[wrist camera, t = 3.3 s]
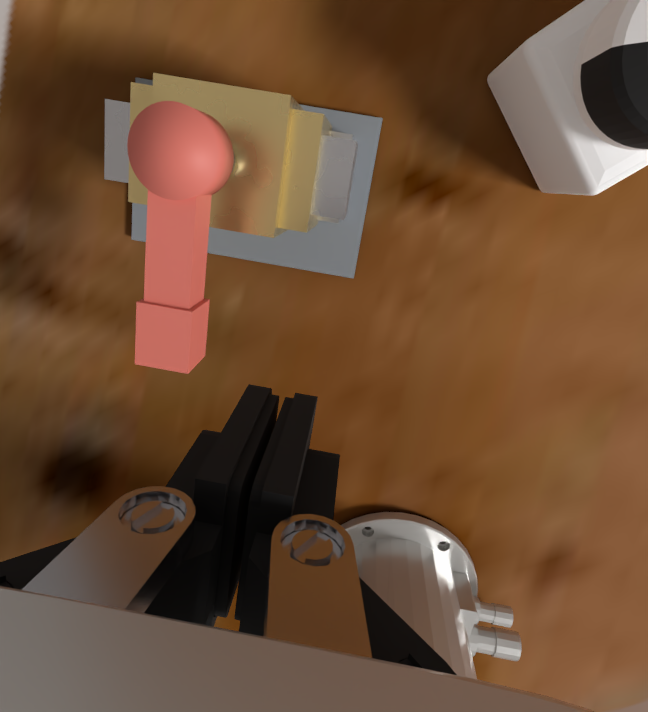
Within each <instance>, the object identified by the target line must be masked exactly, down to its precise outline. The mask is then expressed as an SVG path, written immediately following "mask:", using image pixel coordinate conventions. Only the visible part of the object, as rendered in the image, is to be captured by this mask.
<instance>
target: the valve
mask: <svg viewBox="0 0 648 712" xmlns="http://www.w3.org/2000/svg"><path fill="white" fill-rule="evenodd" d="M161 101H175V102H179V103H182V104H185V105H187V106H190V107H192V108H195V109H197V110H199V111H202V112H204V113H206V114H208V115H210V116H212V117H213V118H214V119H216V120H217V121H218V122H219V123H220V124H221V125H222V126H223V128H224V129H225V130H226V132H227V134H228V136H229V138H230V140H231V143H232V147H233V154H234V163H233V169H232V172H231V175H230V177H229V179H228V181H227V183H226V184H225V185H224V186H223V187H222V188H221V189H220V190H219V191H218V192H216V193H215V194H213V195H212V197H211V210H210V223H209V227H212V228H218V229H224V230H230V231H235V232H241V233H247V234H253V235H258V236H264V237H270V238H275V237H277V236H278V235H280V234H282V233H284V232H285V231H287V230H294V231H300V232H306V233H307V232H308V231H310V230H311V229H312V228H313V227H315V226H316V225H317V224H318V220H320V221H326V222H331V223H337V224H338V223H339V222H340V220H344V219H345V217H346V216H347V211H348V205H349V199H350V193H351V188H352V182H353V176H354V170H355V164H356V158H357V152H358V143H357V141H356V140H353V139H354V137H353V135H352V134H346V133H340V132H334V131H332V125H331V124H330V122H329V121H328V119H327V118H326V116H325V115H324V114H322V113H316V112H309V111H305V110H304V109H303V108H302V107H301V106H300V105H299V104H298V103H297V101H296V100H295V99H294V98H293V97H292V96H291V95H285V94H279V93H273V92H267V91H261V90H255V89H249V88H243V87H237V86H231V85H225V84H219V83H213V82H207V81H200V80H194V79H188V78H182V77H176V76H170V75H164V74H158V73H153V86H152V85H146V84H140V83H134V82H131V92H130V103H128V102H122V101H116V100H110V99H105V166H104V179H107V180H113V181H119V182H124V183H128V202H132V203H138V204H144V205H147V200H148V189H147V188H146V187H145V186H144V185H143V184H142V183H141V182H140V181H139V179H138V178H137V176H136V175H135V173H134V171H133V169H132V167H131V164H130V161H129V157H128V148H127V143H128V135H129V131H130V128H131V125H132V123H133V121H134V120H135V118H136V117H137V115H138V114H139V113H140V112H141V111H142V110H144V109H145V108H146V107H148V106H149V105H151V104H154V103H156V102H161Z"/></svg>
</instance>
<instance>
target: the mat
mask: <svg viewBox="0 0 648 712" xmlns="http://www.w3.org/2000/svg"><path fill="white" fill-rule="evenodd" d="M135 83H140V84H146V85H152V86H153V80H148V79H142V78H136V79H135ZM299 105H300V104H299ZM300 106H301V107H302V108H303V109H304V110H305V111H309V112H316V113H322V114H324V115H325V116H326V118H327V119H328V121H329V122H330V124H331V125H332V131H334V132H340V133H346V134H352V135H353V137H354V139H353V140H356V141H357V143H358V152H357V158H356V164H355V170H354V176H353V182H352V188H351V193H350V199H349V205H348V211H347V216H346V217H345V219H344V220H340V222H339V223H338V224H337V223H331V222H326V221H320V220H318V224H317V225H316V226H315V227H313V228H312V229H311V230H310V231H308V232H307V233H306V232H300V231H294V230H287V231H285V232H284V233H282V234H280V235H278V236H277V237H275V238H270V237H264V236H258V235H253V234H247V233H241V232H235V231H230V230H224V229H218V228H212V227H209V236H208V249H207V253H211V254H217V255H223V256H228V257H234V258H240V259H246V260H251V261H257V262H263V263H268V264H274V265H280V266H286V267H291V268H297V269H303V270H308V271H314V272H320V273H325V274H331V275H337V276H343V277H348V278H354V274H355V268H356V263H357V257H358V252H359V246H360V241H361V235H362V230H363V224H364V219H365V213H366V207H367V202H368V196H369V191H370V185H371V180H372V174H373V169H374V163H375V158H376V152H377V147H378V141H379V136H380V130H381V125H382V119H383V118H378V117H372V116H366V115H360V114H354V113H348V112H342V111H336V110H330V109H324V108H318V107H312V106H306V105H300ZM146 228H147V205H144V204H138V203H132V238H131V240H137V241H143V242H146Z"/></svg>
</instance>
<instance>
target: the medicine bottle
mask: <svg viewBox="0 0 648 712" xmlns="http://www.w3.org/2000/svg"><path fill="white" fill-rule="evenodd" d="M487 82H488V85H489V87H490V89H491V91H492V93H493V95H494V97H495V99H496V101H497V103H498V105H499V107H500V109H501V111H502V113H503V116H504V118H505V120H506V122H507V124H508V126H509V128H510V130H511V132H512V134H513V136H514V138H515V140H516V142H517V144H518V146H519V148H520V150H521V152H522V154H523V157H524V159H525V161H526V163H527V165H528V167H529V169H530V171H531V173H532V175H533V177H534V179H535V181H536V183H537V185H538V187H539V189H540V190H541V192H544V193H558V194H577V195H596V194H598V193H600V192H602V191H604V190H605V189H607V188H609V187H611V186H612V185H614V184H616V183H617V182H619V181H621V180H623V179H624V178H626V177H628V176H630V175H631V174H633V173H635V172H637V171H638V170H640V169H642V168H643V167H645V166H647V165H648V0H584V1H583V2H581V3H580V4H578V5H577V6H576V7H574V8H573V9H571V10H570V11H568V12H567V13H565V14H564V15H562V16H561V17H559V18H558V19H556V20H555V21H554V22H552V23H551V24H549V25H548V26H546V27H545V28H543V29H542V30H540V31H539V32H537V33H536V34H534V35H533V36H532V37H530V38H529V39H527V40H526V41H525V42H524V43H523V44H522V45H520V46H519V47H518V48H517V49H516V50H515V51H514V52H513V53H512V54H511V55H510V56H508V57H507V58H506V59H505V60H504V61H503V62H502V63H501V64H500V65H499V66H498V67H496V68H495V69H494V70H493V71H492V72H491V73H490V74H489V75H488V78H487Z"/></svg>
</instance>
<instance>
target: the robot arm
mask: <svg viewBox="0 0 648 712" xmlns="http://www.w3.org/2000/svg"><path fill="white" fill-rule="evenodd" d="M278 403H279V396H277V395H272V389H271V388H266V387H260V386H255V385H248V387H247V388H246V390H245V392H244V394H243V395H242V397H241V399H240V401H239V402H238V404H237V406H236V408H235V409H234V411H233V413H232V415H231V416H230V418H229V420H228V422H227V423H226V425H225V427H224V428H223V430H222V432H221V433H219V432H214V431H208V430H203V431H202V432H201V433H200V435H199V436H198V438H197V439H196V441H195V443H194V444H193V446H192V447H191V449H190V450H189V452H188V453H187V455H186V456H185V458H184V459H183V461H182V462H181V464H180V466H179V467H178V469H177V470H176V472H175V473H174V475H173V476H172V478H171V479H170V481H169V482H168V484H167V485H166V487H164V486H149V487H144V488H139V489H136V490H133V491H131V492H128V493H126V494H124V495H123V496H122V497H120V498H119V499H117V500H116V501H115V502H114V503H113V504H112V505H111V506H110V507H109V508H108V509H107V510H106V511H104V512H103V513H102V514H101V515H100V516H99V517H98V518H97V519H96V520H95V521H94V522H93V523H92V524H91V525H90V526H88V527H87V528H86V529H85V530H84V531H83V532H82V533H81V534H80V535H79V536H78V537H76V538H73V539H70V540H67V541H64V542H61V543H58V544H55V545H52V546H49V547H46V548H43V549H40V550H37V551H33V552H30V553H27V554H24V555H21V556H18V557H15V558H12V559H9V560H6V561H3V562H0V712H594V711H591V710H589V709H586V708H583V707H580V706H576V705H573V704H570V703H567V702H564V701H561V700H558V699H554V698H551V697H548V696H544V695H540V694H536V693H532V692H527V691H523V690H519V689H515V688H510V687H506V686H502V685H498V684H493V683H489V682H485V681H481V680H477V677H476V673H475V668H474V663H473V659H472V657H473V656H474V655H475V653H476V652H480V653H485V654H490V655H491V656H492V657H496V658H502V659H507V660H512V661H518V660H519V658H520V656H521V639H520V635H519V634H518V632H516V631H512V630H506V629H501V628H496V627H491V628H488V627H483V626H478V625H477V623H478V622H479V621H484V622H490V623H491V624H495V625H500V626H505V627H511V626H512V623H513V611H512V608H511V607H510V606H505V605H500V604H495V603H491V604H490V603H485V602H480V600H479V598H478V597H477V593H478V583H477V575H476V572H475V568H474V564H473V561H472V559H471V557H470V555H469V553H468V551H467V549H466V548H465V547H464V546H463V544H462V543H461V542H460V541H459V539H458V538H457V537H455V536H454V535H453V534H452V533H451V532H450V531H448V530H447V529H446V528H444V527H442V526H441V525H439V524H437V523H435V522H434V521H431V520H428V519H426V518H423V517H420V516H418V515H412V514H407V513H402V512H380V513H373V514H367V515H364V516H360V517H357V518H354V519H352V520H350V521H348V522H346V523H344V524H342V525H339V524H338V523H337V522H335V521H333V516H334V506H335V497H336V487H337V478H338V468H339V458H340V455H339V454H334V453H328V452H323V451H317V450H312V449H309V445H310V439H311V433H312V428H313V422H314V416H315V410H316V404H317V397H316V396H310V395H304V394H299V393H295V395H294V398H288V397H286V398H285V400H284V403H283V405H282V408H281V411H280V413H279V416H278V419H277V421H276V418H277V411H278ZM238 581H239V586H238V594H237V602H236V610H235V619H236V620H240V628H239V632H238V631H233V630H228V629H223V628H218V627H213V626H214V624H215V621H216V618H217V616H220V617H227V615H228V612H229V609H230V606H231V603H232V600H233V597H234V594H235V591H236V588H237V584H238Z"/></svg>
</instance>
